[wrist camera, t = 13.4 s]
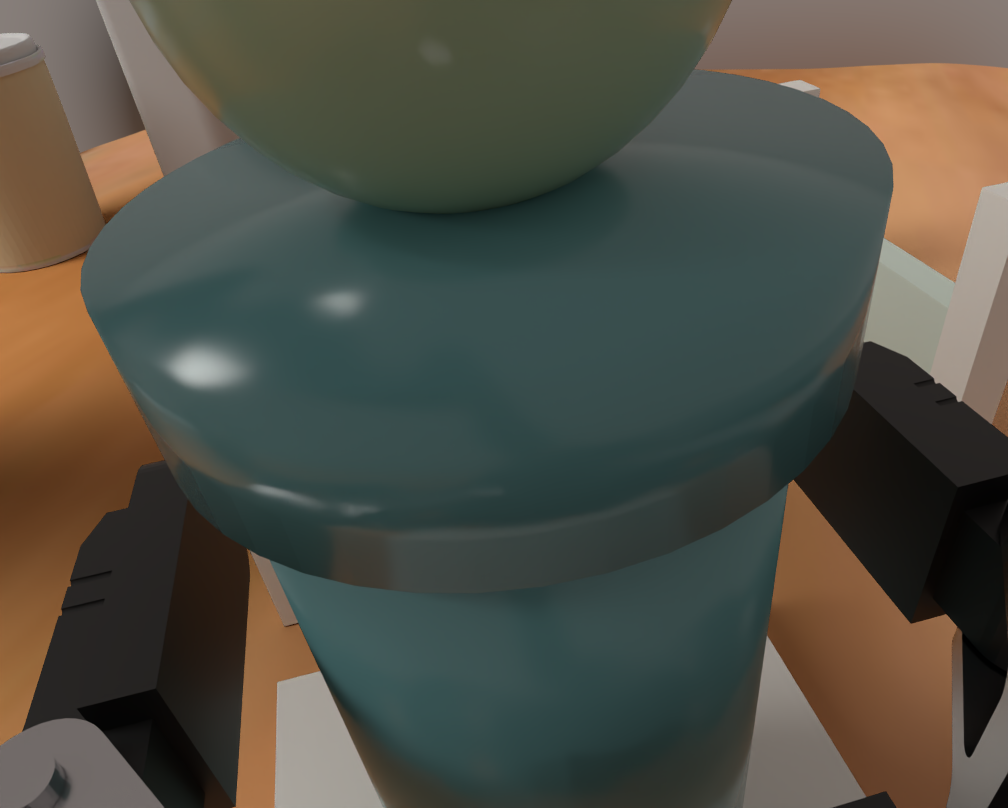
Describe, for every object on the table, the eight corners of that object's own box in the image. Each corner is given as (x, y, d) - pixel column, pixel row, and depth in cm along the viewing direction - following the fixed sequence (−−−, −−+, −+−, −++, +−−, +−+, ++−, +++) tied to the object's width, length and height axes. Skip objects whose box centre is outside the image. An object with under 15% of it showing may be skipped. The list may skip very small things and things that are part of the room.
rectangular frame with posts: (982, 451, 26) (1073, 196, 20) (284, 626, 23) (174, 385, 17) (776, 276, 36) (799, 79, 31) (287, 380, 34) (220, 185, 28)
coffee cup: (115, 205, 55) (36, 24, 48) (125, 250, 48) (35, 46, 41) (-26, 241, 52) (-133, 55, 45) (-37, 294, 45) (-166, 84, 38)
